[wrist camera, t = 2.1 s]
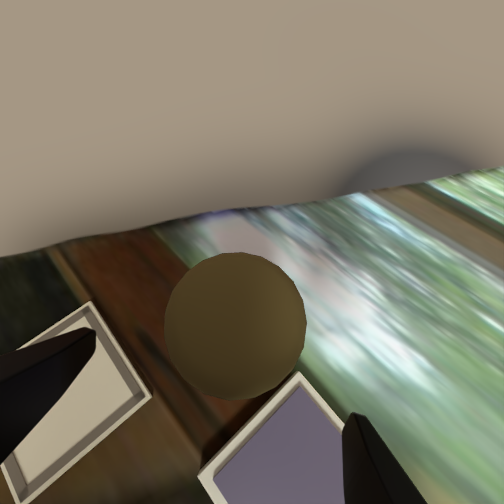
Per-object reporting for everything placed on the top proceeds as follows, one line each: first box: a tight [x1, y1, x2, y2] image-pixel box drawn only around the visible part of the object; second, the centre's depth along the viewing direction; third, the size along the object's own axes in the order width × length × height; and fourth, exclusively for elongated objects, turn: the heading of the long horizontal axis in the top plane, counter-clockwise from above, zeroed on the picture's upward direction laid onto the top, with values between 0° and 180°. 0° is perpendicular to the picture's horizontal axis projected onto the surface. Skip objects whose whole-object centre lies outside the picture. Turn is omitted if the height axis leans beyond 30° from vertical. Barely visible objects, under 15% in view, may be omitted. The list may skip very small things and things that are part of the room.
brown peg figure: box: [164, 252, 307, 401], centre depth 13 cm, size 6×6×11 cm
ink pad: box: [198, 371, 345, 504], centre depth 15 cm, size 8×8×1 cm
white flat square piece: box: [0, 301, 152, 504], centre depth 16 cm, size 8×8×1 cm
